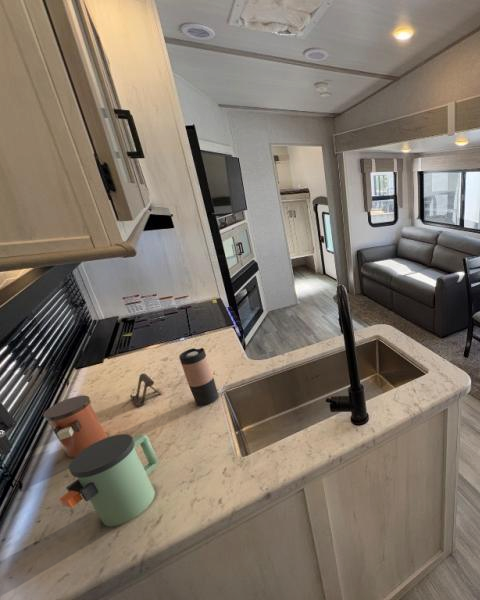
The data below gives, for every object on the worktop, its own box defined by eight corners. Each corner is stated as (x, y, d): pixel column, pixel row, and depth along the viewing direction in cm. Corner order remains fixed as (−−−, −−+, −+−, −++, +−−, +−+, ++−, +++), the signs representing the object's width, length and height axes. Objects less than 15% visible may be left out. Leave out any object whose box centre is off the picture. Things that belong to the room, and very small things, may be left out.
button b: (62, 435, 86) (59, 430, 86) (74, 431, 88) (71, 426, 87) (59, 440, 85) (56, 434, 84) (71, 436, 86) (68, 430, 85)
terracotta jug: (75, 436, 99) (54, 397, 94) (114, 424, 104) (96, 386, 99) (59, 467, 88) (34, 425, 83) (103, 451, 93) (82, 410, 87)
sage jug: (148, 471, 85) (124, 421, 79) (179, 477, 82) (158, 426, 76) (82, 529, 71) (48, 473, 65) (118, 539, 68) (85, 482, 62)
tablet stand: (131, 399, 116) (123, 381, 113) (156, 388, 122) (148, 370, 119) (138, 408, 111) (130, 389, 108) (163, 396, 117) (156, 378, 114)
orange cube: (74, 496, 66) (70, 490, 65) (83, 498, 65) (79, 492, 64) (63, 505, 64) (59, 498, 63) (71, 507, 63) (67, 501, 63)
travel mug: (199, 410, 108) (182, 361, 101) (193, 401, 113) (176, 353, 106) (222, 398, 113) (207, 351, 106) (215, 390, 118) (200, 345, 111)
